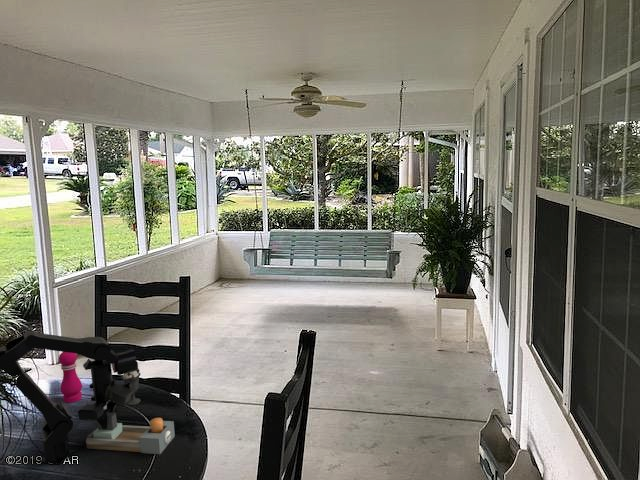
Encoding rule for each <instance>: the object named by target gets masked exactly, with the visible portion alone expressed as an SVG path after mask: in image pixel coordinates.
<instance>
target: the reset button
mask: <svg viewBox="0 0 640 480" xmlns="http://www.w3.org/2000/svg"><path fill="white" fill-rule="evenodd" d="M163 421H164V420H163V418H162V417H154V418H152V419H151V420H149V423H150V425H149V427H150V426H151V433H160V434H161V432H162V431H163Z"/></svg>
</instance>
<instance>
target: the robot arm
mask: <svg viewBox="0 0 640 480" xmlns="http://www.w3.org/2000/svg"><path fill="white" fill-rule="evenodd" d="M7 342H8V343H7ZM7 342H6V343H7V345H5V346H3V347H0V369H3V370H4V371H5V372H6V373H8V374H9V375H11V376H16V375H20V376H19V377H18V378H17V382H18V383H17V385H16V386H15V387H16V388H17V389H18V391H20V392H21V393H22V395H24V397H26V398H27V400H28V401H29V402H30V403H31V404H32V405H33V406H34V407H35V408H36V409H37V410H38V411H39V413H41V415H42V416H43V418H44V421H45V422H46V423H45V424H44V425H43V426H42V428H41V433H42V436H43V439H44V440H43V443H42V445H43V452H44V453H43V454H44V457H43V458H41V460H40V463H43V464H55V465H60V464H62V463H63V462H64V461H65V460H66V459H68V458H69V457H70V456H71V455H72V454H73V453H74V449H70V445H69V439H68V435H69V433H70V432H71V431H72V429H73V426H74V422H73V415H72V413H71V410H70V408H69V407H67V406H66V405H65V404H64V403H63V400H60V401H59V402H58V403H56V402H54V401H52V400H51V398H50V397H49V396H48V395H47V394H46V393H45V392H44V391H43V390H42V388H40V386H39V385H38V384H37V383H36V382H35V381H34V380H33V379H32V378H31V376H30V375H29V374H28V373H27V372H26V373H24V371H25V370H24V369H23V368H22V367H21V365H20V362H19V360H20V359H22V358H24V357H25V355H27V354H28V353H29V352H30V351H32V350H34V349H39V350H46V351H53V352H54V351H55V352H61V353H62V352H69V353H76V355H80V356H82V357H85V358H87V360H86V361H85V362H84V363H83V364H82V367H83V368H84V370H85V371H87V370H90V375H91V383H90V384H89V389H92V392H93V396H91V397H90V401H91V402H94V403H93V404H90V403H86V404H85V405H84V406H83V407H82V408H80V409H79V410H78V411H77V418H78V420H91V421H92V420H93V421H96V423H97V422H98V423H99V424H100V425H101V427H102V428H103V429H106V428H107V413H108V412H112V413H115V411H116V407H117V405H119V406H125V405H127V404H126V403H127V402H128V401H129V400H130V399H131V394H132V393H134V390H133V385H132V383H131V382H129V381H128V382H127V383H126V384H124V382H123V383H121V382H117V380H116V378H113V373H114V374H117V375H118V376H122V375H124V374H126V373H130V372H134V371H137V370H138V369H139V363H138V360H137V357H136V354H135V350H134V349H133V348H132V349H128V350H126V351H121V352H117V353H115V351H114V350H113V349H112V348H111V345H110V344H108V342H107V340H105V338H103V337H102V336H85V337H82V338H81V337H79V338H78V337H77V338H76V337H69V336H64V335H63V336H62V335H57V334H56V335H55V334H48V333H41V332H36V331H32V330H31V331H27V332H26V333H23V334H22V335H20V336H18V337H15V338H13V339H10V340H8V341H7ZM23 370H24V371H23ZM112 371H113V372H112ZM134 394H135V393H134ZM95 402H96V403H95Z"/></svg>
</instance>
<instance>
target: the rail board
mask: <svg viewBox="0 0 640 480" xmlns="http://www.w3.org/2000/svg"><path fill="white" fill-rule="evenodd" d="M149 427H150V426H144V425H143V426H142V425H125V424H124V425H123V424H122V430H123V431H122V432H121V433H120V434H119V435H118V436H117V437H116V438H115V439H104V438H94V435H93V432H94V431H95V430H96V429H97V428H98V426H97V427H96V428H95V429H94V430H93V431H91V433H89V434H88V435H87V437H86V439H85V443H86V449H90V450H91V449H94V450H105V451H107V450H108V451H121V452H136V453H137V452H138V453H141V445H140V437H141V436H142V435H143V434H144V432H145V431H146V430H147V429H148V428H149Z"/></svg>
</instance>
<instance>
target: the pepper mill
mask: <svg viewBox="0 0 640 480" xmlns="http://www.w3.org/2000/svg"><path fill="white" fill-rule="evenodd" d="M77 355H78V354H76V353H69V352H61V353H60V354H59V355H58V363H59V364H60V367H61V370H62V374H63V375H62V380H61V384H60V393H61V394H62V402H64V403H67V404H68V403H69V404H70V403H75V402H79V401H80V400H81V399H82V398H83V394H82V389H83V384H82V381H81V379H80V377H79V376H78V373H77V372H76V371H77V369H76V367H77V362H76V361H77V360H78V356H77Z"/></svg>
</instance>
